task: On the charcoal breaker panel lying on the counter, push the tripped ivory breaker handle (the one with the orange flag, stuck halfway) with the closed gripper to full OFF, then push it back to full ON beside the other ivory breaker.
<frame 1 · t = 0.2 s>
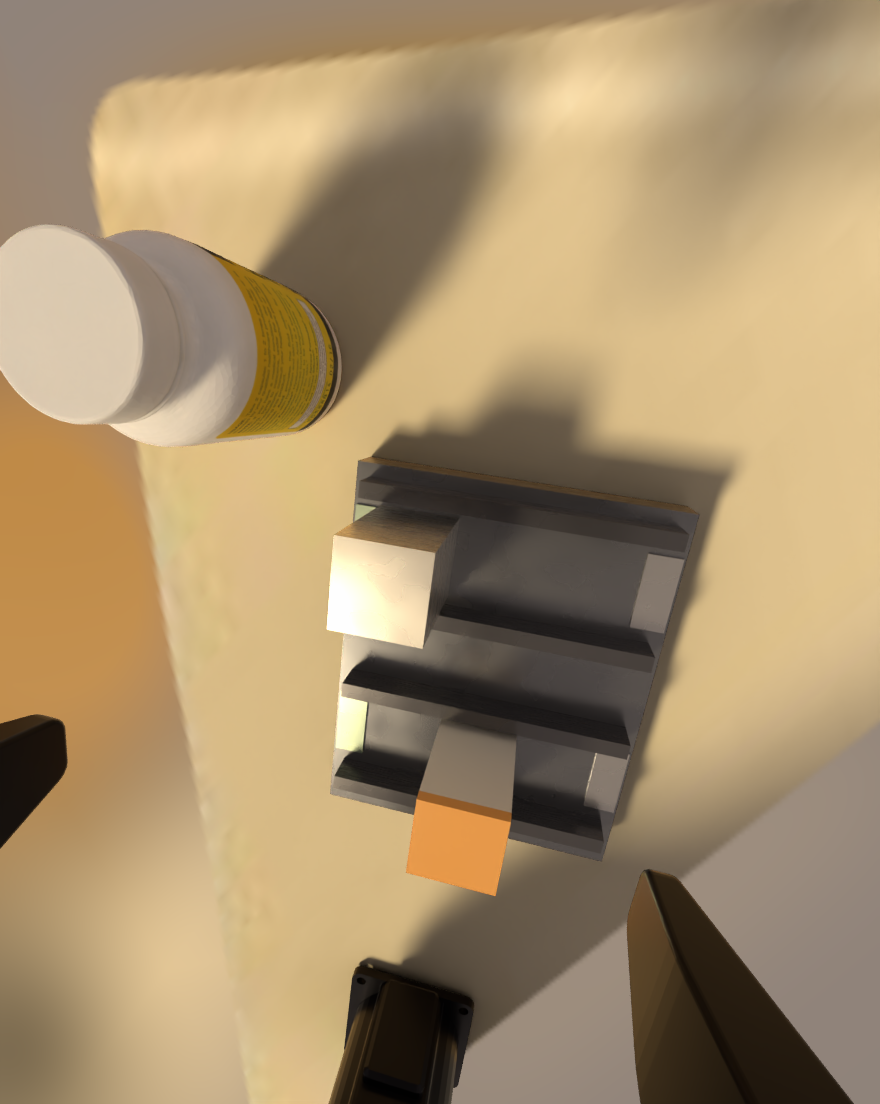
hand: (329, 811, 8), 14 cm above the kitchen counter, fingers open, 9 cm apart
tripped breaker: (466, 794, 19), point 4 cm above the kitchen counter, slide at 0.0 cm
breaker panel: (491, 657, 22), on the kitchen counter
supplement bottle: (281, 364, 21), on the kitchen counter
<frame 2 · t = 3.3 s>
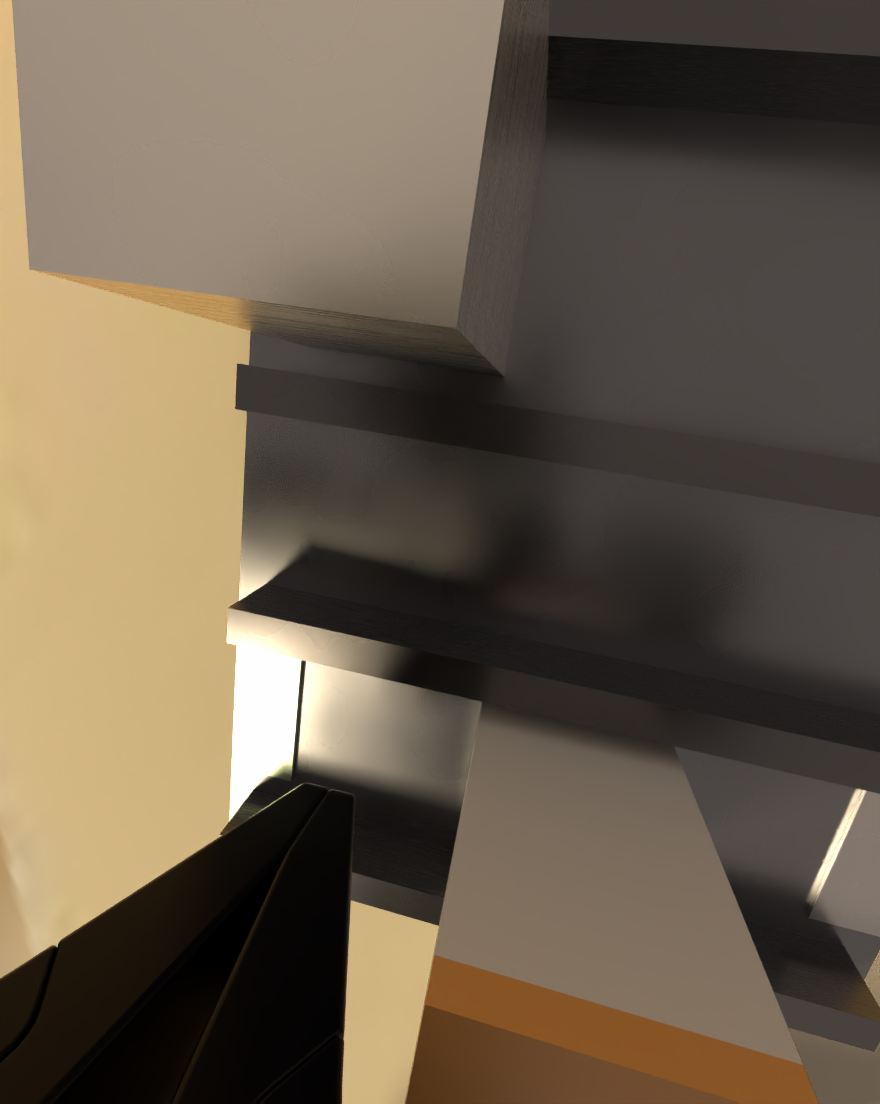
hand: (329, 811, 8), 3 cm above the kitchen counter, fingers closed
tripped breaker: (561, 917, 7), point 4 cm above the kitchen counter, slide at -0.1 cm, touching gripper
breaker panel: (586, 566, 10), on the kitchen counter
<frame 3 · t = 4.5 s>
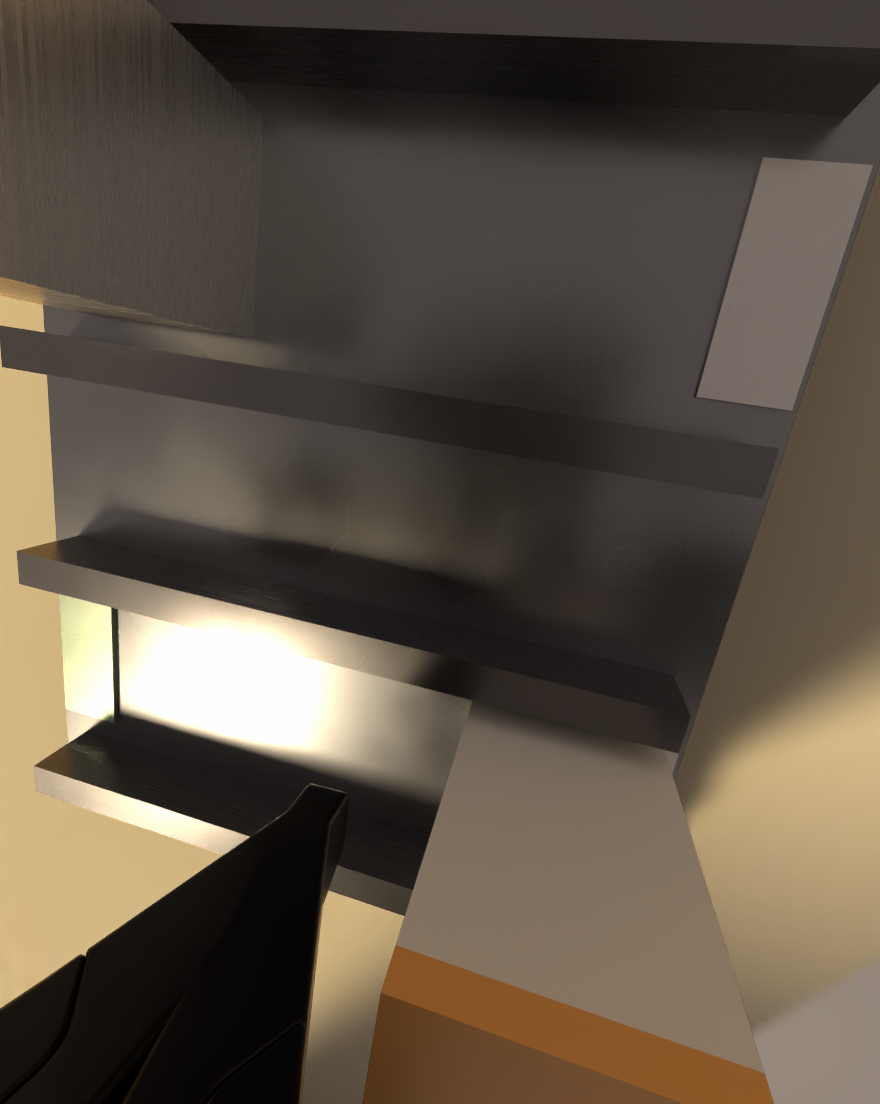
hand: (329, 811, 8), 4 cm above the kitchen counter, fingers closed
tripped breaker: (541, 917, 7), point 4 cm above the kitchen counter, slide at -4.0 cm, touching gripper
breaker panel: (380, 525, 10), on the kitchen counter
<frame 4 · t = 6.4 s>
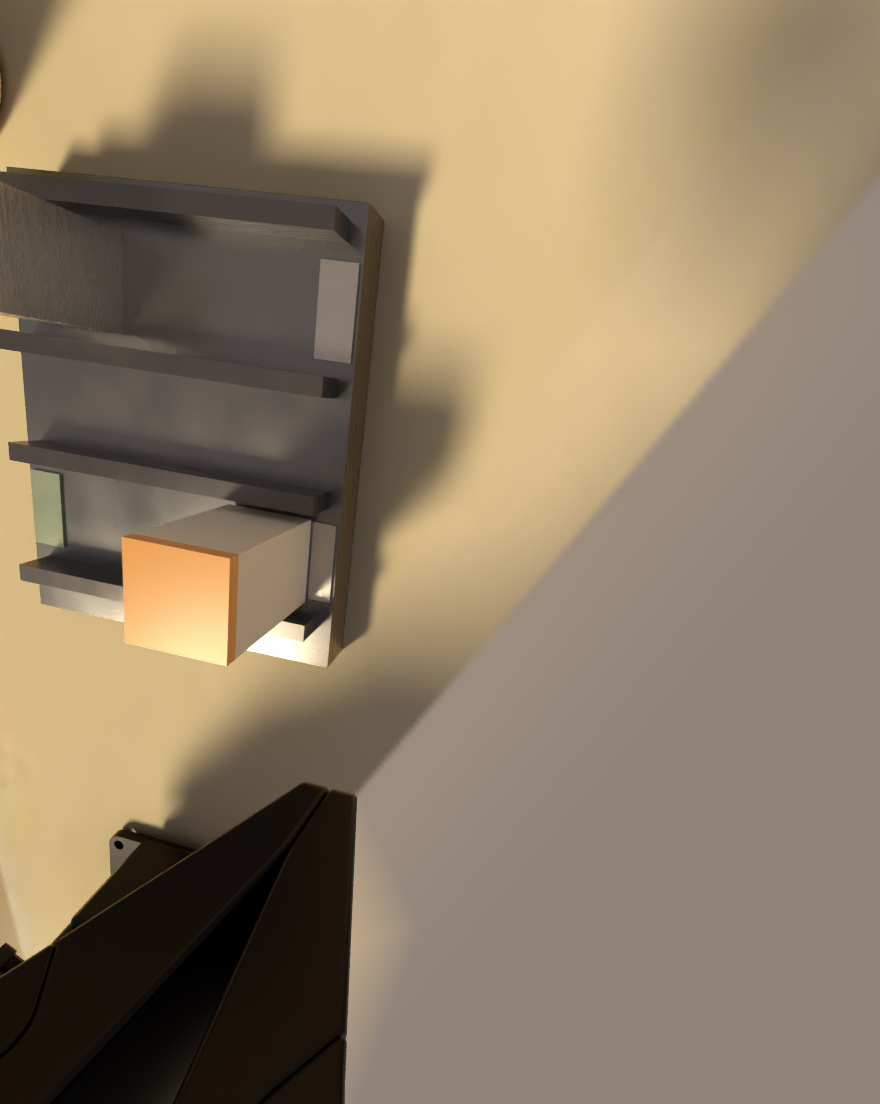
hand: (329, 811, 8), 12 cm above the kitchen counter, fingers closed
tripped breaker: (228, 574, 16), point 4 cm above the kitchen counter, slide at -3.6 cm
breaker panel: (205, 433, 19), on the kitchen counter
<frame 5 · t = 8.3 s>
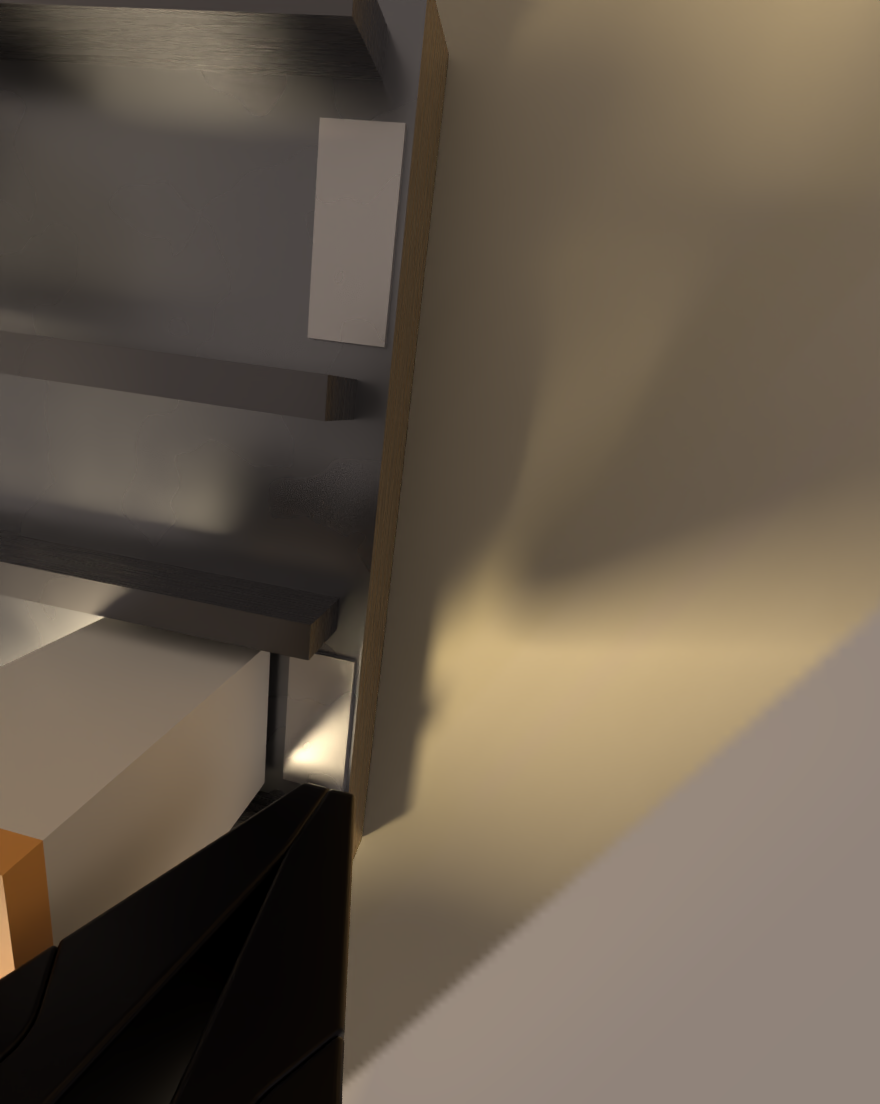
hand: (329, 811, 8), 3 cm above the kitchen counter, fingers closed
tripped breaker: (87, 787, 8), point 4 cm above the kitchen counter, slide at -2.9 cm, touching gripper
breaker panel: (117, 479, 11), on the kitchen counter
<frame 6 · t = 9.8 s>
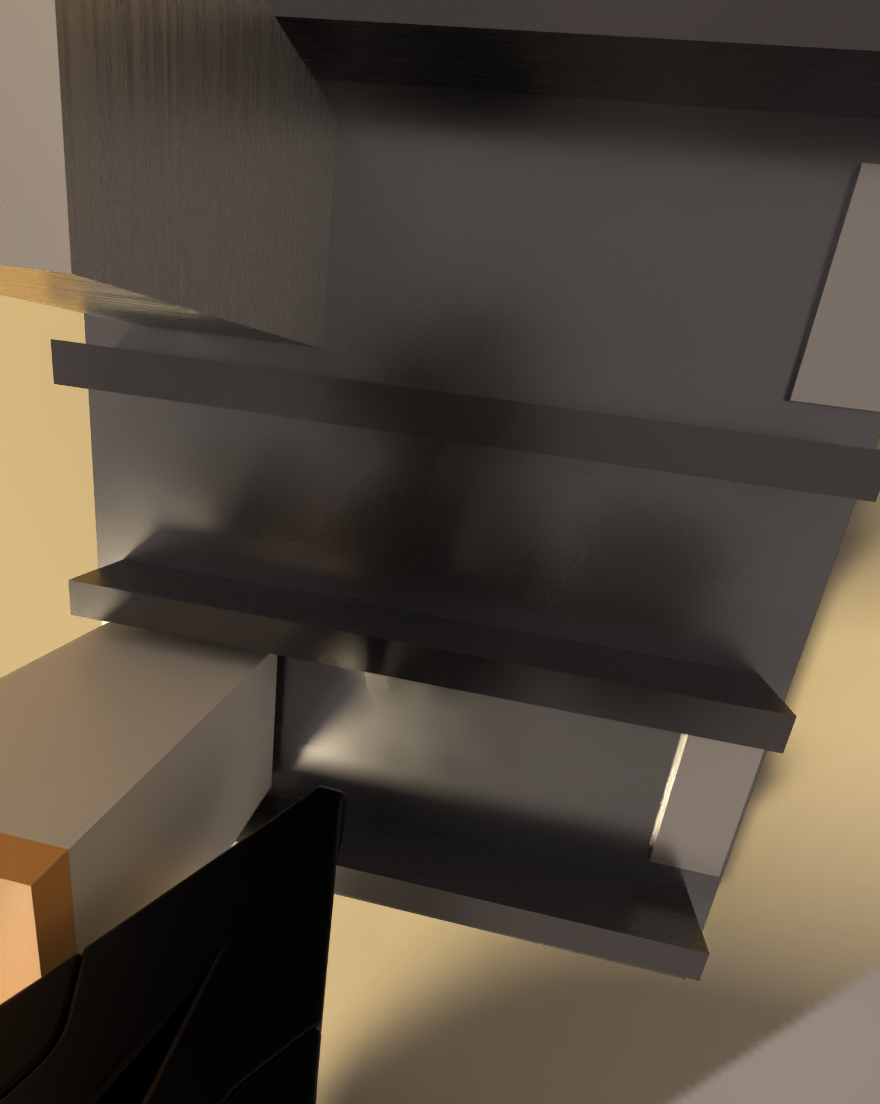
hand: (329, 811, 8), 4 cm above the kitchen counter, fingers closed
tripped breaker: (98, 794, 8), point 4 cm above the kitchen counter, slide at 3.9 cm, touching gripper
breaker panel: (440, 535, 10), on the kitchen counter
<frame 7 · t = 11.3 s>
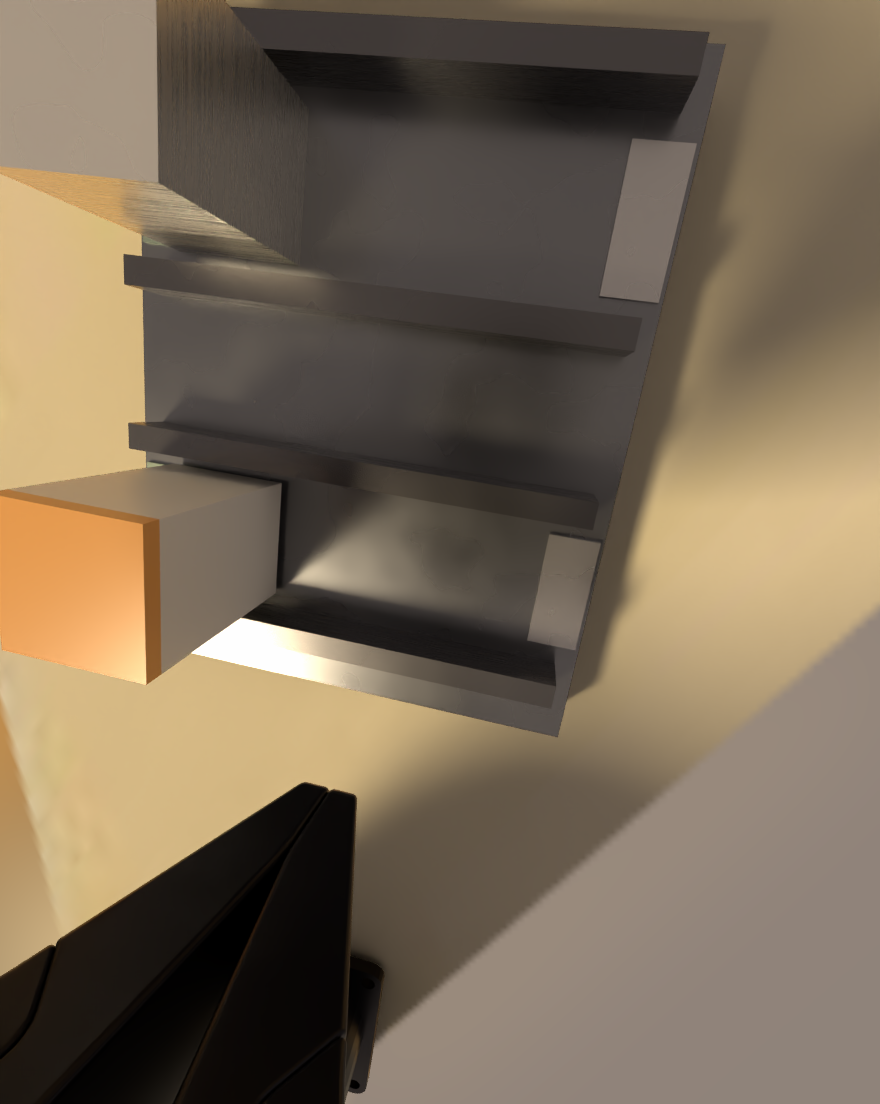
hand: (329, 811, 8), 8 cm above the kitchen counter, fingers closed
tripped breaker: (162, 554, 12), point 4 cm above the kitchen counter, slide at 3.6 cm
breaker panel: (387, 413, 14), on the kitchen counter
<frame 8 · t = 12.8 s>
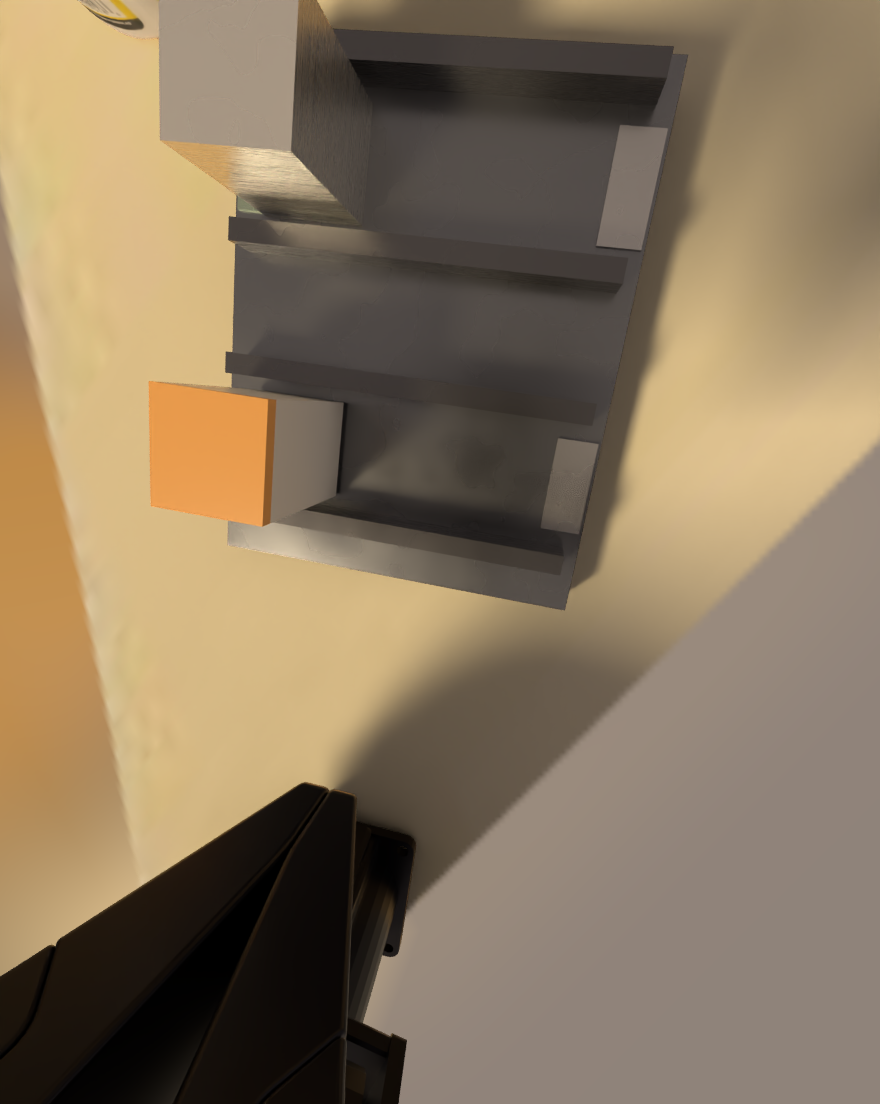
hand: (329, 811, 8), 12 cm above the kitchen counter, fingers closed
tripped breaker: (258, 448, 15), point 4 cm above the kitchen counter, slide at 3.6 cm
breaker panel: (426, 349, 17), on the kitchen counter
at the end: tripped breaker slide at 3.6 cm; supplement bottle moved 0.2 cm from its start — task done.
